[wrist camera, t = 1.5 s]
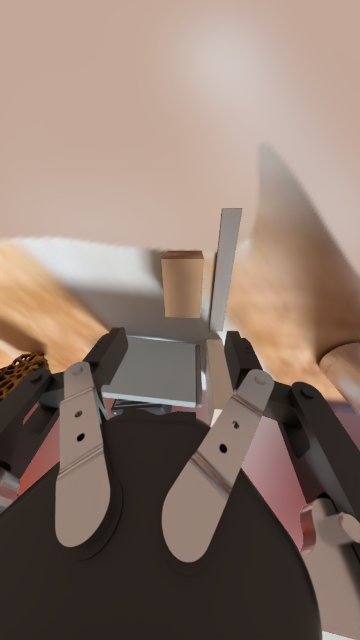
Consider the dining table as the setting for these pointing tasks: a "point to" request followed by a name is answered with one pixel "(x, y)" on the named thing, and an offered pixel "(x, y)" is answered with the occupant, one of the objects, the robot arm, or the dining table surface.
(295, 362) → the dining table surface
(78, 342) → the dining table surface
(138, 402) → the small box
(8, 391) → the brown wasp nest
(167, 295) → the block
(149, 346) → the door
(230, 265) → the door frame
